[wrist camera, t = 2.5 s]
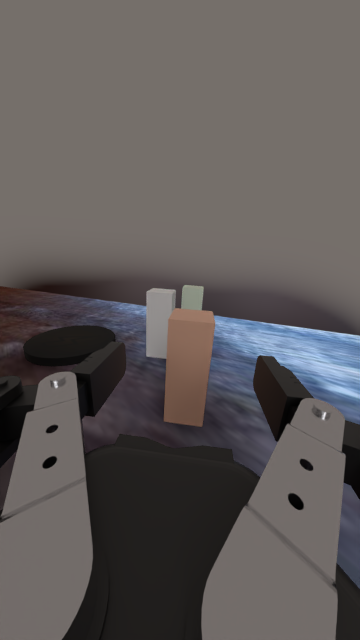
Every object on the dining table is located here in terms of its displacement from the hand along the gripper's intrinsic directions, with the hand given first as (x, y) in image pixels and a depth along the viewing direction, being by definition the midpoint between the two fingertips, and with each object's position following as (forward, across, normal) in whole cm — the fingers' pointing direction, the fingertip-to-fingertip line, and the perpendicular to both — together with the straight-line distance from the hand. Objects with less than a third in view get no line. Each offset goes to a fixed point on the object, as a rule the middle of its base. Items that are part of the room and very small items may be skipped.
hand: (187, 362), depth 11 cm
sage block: (+38, +2, +14) cm, 40 cm away
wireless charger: (+27, +28, +14) cm, 41 cm away
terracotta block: (+12, 0, +14) cm, 18 cm away
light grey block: (+28, +8, +14) cm, 32 cm away
